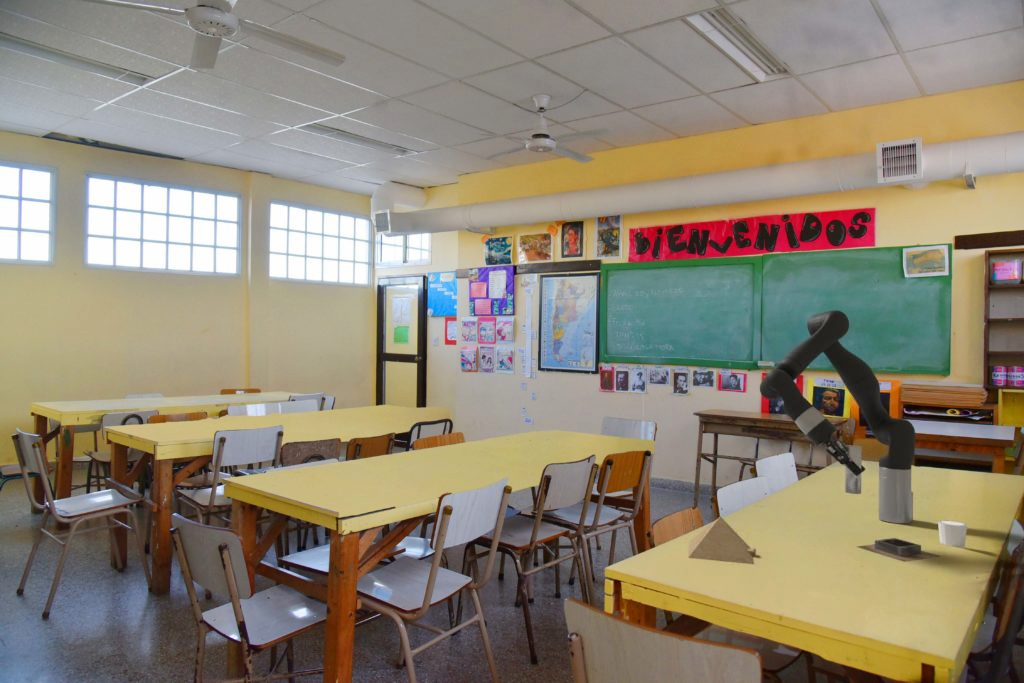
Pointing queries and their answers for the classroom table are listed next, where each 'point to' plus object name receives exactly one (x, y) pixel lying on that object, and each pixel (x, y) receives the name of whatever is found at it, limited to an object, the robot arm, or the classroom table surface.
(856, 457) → the peg
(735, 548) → the model pyramid
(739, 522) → the classroom table surface
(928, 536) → the classroom table surface
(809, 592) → the classroom table surface
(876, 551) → the square socket base
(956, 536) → the white cup
